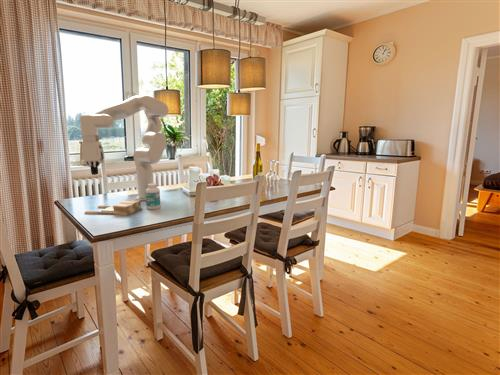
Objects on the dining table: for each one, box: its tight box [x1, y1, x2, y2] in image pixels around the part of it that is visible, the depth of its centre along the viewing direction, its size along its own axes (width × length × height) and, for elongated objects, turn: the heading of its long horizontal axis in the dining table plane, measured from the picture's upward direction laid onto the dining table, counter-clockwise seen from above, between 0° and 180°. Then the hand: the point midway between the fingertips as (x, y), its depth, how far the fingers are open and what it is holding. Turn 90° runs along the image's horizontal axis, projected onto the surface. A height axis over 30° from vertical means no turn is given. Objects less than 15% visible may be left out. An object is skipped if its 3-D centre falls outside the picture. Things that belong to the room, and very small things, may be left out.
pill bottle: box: [145, 182, 161, 210], centre depth 168 cm, size 8×7×14 cm
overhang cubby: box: [84, 199, 142, 216], centre depth 163 cm, size 14×24×4 cm, turn 84°
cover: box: [100, 205, 114, 212], centre depth 163 cm, size 9×15×2 cm, turn 84°
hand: (95, 174), depth 162 cm, fingers closed
